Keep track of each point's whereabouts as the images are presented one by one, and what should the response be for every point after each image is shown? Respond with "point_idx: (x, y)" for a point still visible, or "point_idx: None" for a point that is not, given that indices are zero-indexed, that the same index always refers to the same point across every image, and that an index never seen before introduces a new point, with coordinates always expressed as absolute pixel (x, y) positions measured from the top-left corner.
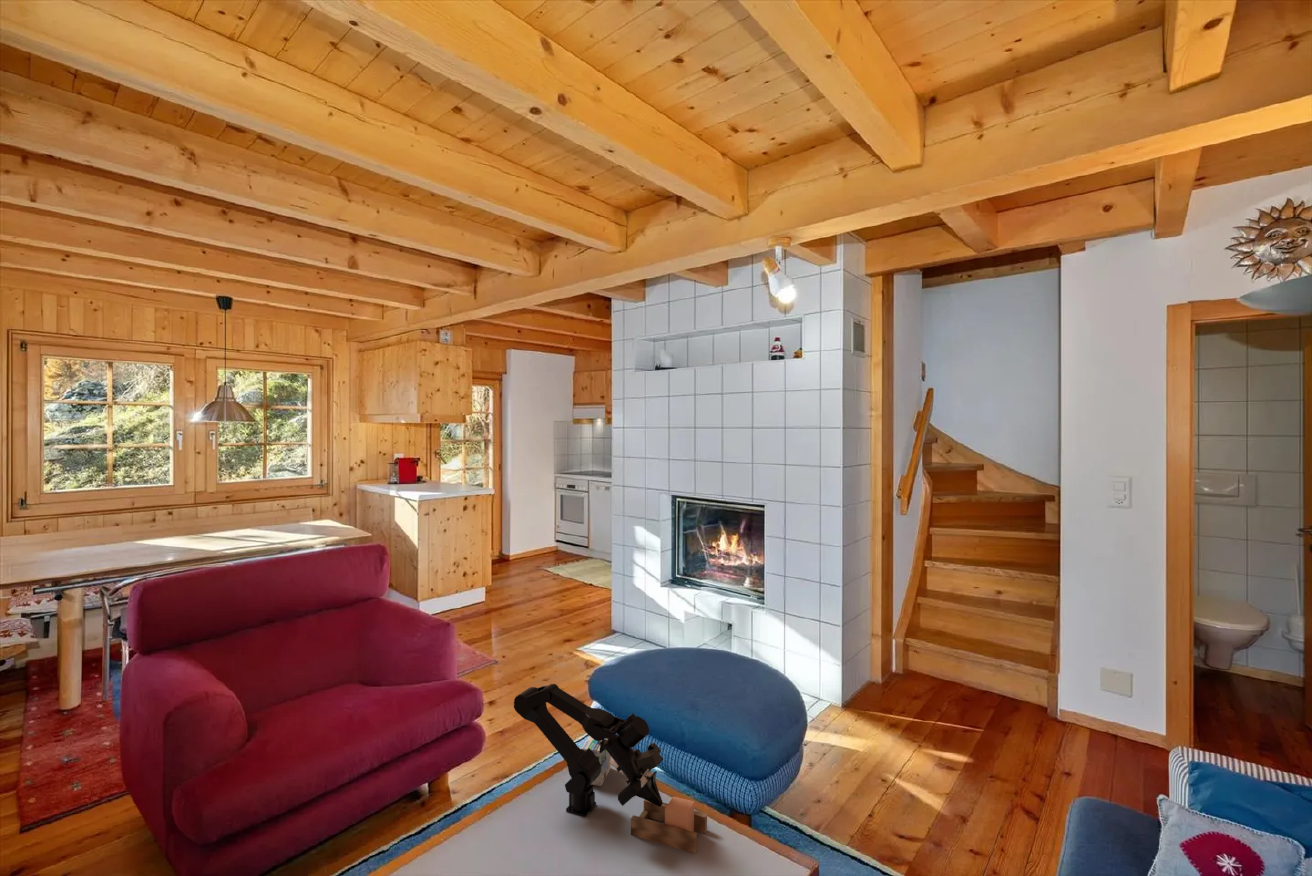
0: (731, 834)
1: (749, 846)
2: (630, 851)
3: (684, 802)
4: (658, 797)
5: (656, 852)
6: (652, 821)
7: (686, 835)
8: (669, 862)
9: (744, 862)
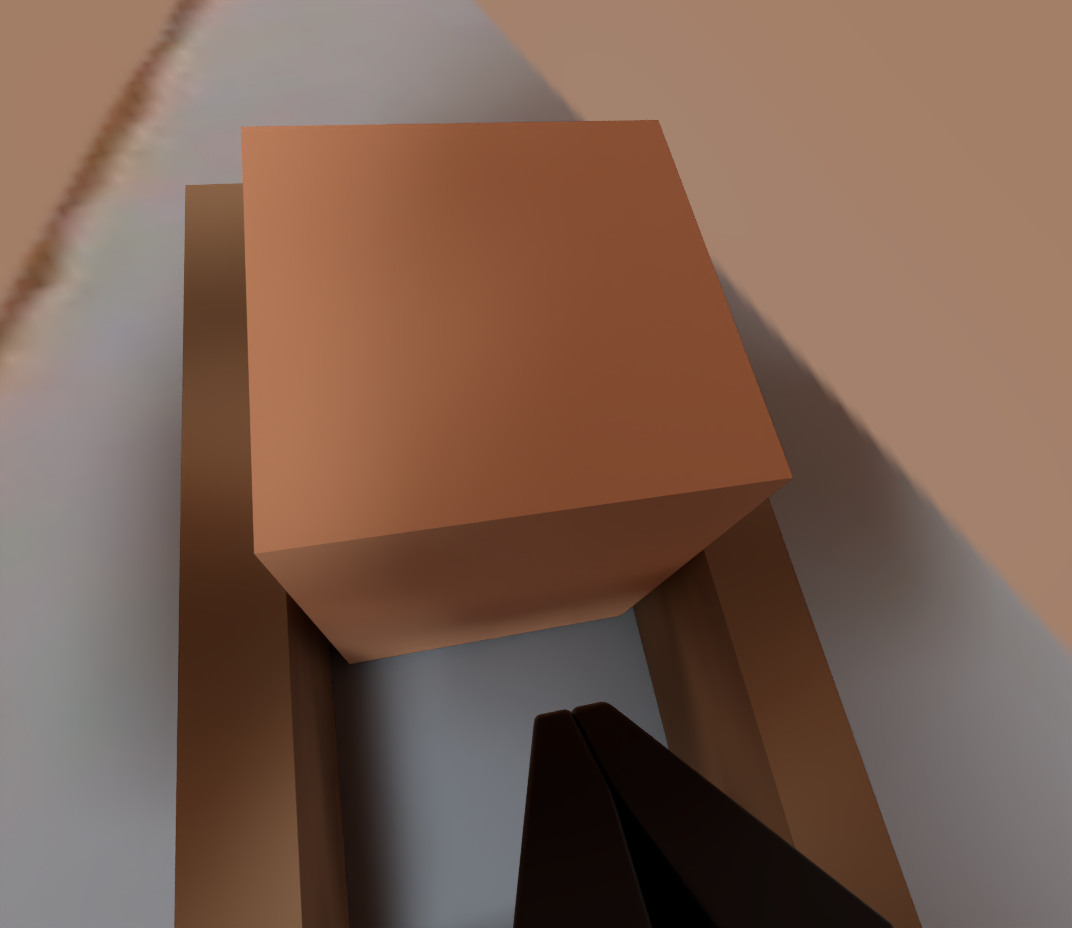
0: (192, 148)
1: (279, 26)
2: (1012, 855)
3: (361, 251)
4: (657, 825)
5: (815, 591)
6: (792, 758)
7: None
8: (822, 425)
9: (462, 23)
